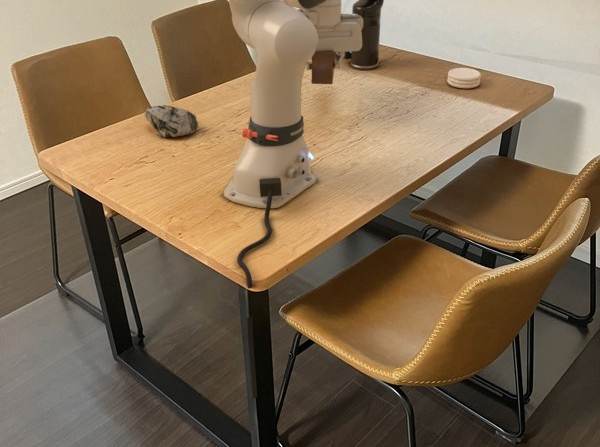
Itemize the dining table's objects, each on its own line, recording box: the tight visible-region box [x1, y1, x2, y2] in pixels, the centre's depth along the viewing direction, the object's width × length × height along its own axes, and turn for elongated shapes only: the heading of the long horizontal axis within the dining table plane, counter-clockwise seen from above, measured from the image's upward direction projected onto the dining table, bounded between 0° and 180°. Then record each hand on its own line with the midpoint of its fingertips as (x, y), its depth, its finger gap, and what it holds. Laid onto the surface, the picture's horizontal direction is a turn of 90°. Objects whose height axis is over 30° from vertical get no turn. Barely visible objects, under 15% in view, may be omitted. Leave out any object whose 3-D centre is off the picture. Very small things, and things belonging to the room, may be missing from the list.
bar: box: [311, 51, 337, 85], centre depth 171 cm, size 25×6×8 cm, turn 175°
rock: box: [144, 104, 199, 138], centre depth 165 cm, size 15×10×7 cm
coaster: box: [446, 67, 482, 89], centre depth 192 cm, size 10×10×4 cm
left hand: (322, 68), depth 163 cm, fingers closed on bar, 6 cm apart
